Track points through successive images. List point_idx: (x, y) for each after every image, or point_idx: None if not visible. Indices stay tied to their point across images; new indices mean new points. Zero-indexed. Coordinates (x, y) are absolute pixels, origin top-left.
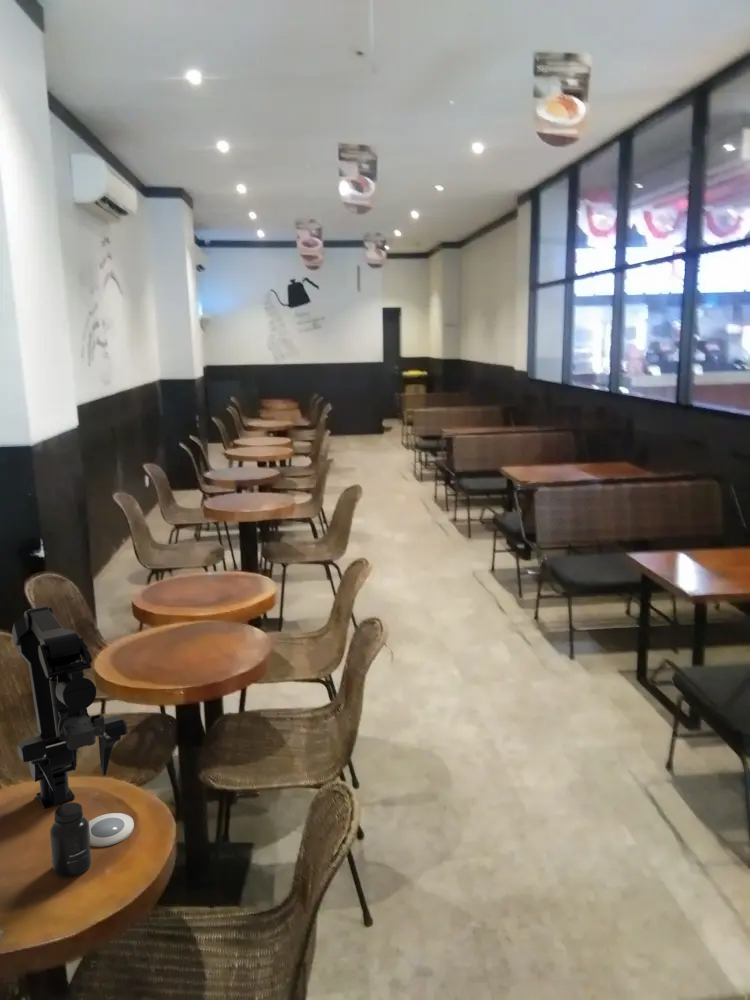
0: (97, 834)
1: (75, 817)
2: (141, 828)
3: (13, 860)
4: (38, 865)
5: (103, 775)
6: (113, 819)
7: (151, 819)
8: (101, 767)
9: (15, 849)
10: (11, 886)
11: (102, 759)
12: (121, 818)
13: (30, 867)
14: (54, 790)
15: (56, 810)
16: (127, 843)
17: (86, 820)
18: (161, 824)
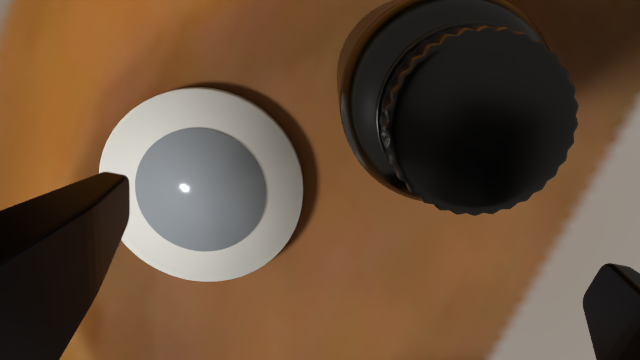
0: (253, 176)
1: (472, 28)
2: (92, 107)
3: (526, 265)
4: None
5: (129, 188)
6: (162, 221)
7: (34, 133)
8: (98, 271)
9: (490, 316)
10: (610, 133)
11: (22, 311)
12: (133, 207)
13: None
14: (616, 264)
15: (544, 174)
16: (178, 55)
17: (363, 65)
18: (12, 70)
